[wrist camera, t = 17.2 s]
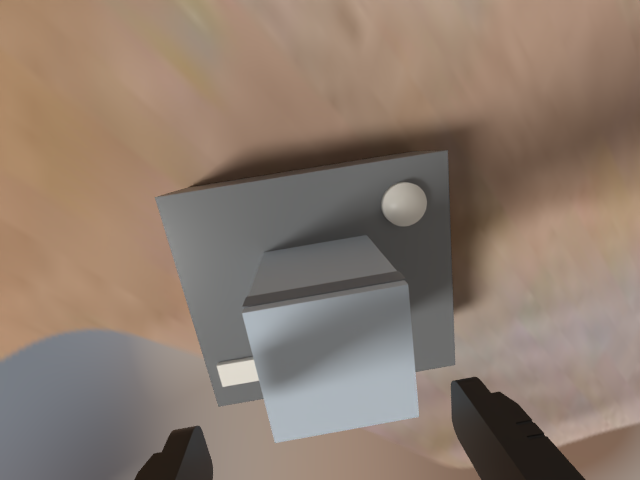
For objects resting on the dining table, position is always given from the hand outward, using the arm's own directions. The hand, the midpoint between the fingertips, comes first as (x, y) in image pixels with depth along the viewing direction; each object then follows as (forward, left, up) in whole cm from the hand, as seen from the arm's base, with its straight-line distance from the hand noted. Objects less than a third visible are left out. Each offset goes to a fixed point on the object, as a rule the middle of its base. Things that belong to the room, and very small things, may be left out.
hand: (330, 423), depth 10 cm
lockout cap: (+1, 0, -9) cm, 9 cm away
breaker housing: (0, 0, -14) cm, 14 cm away
